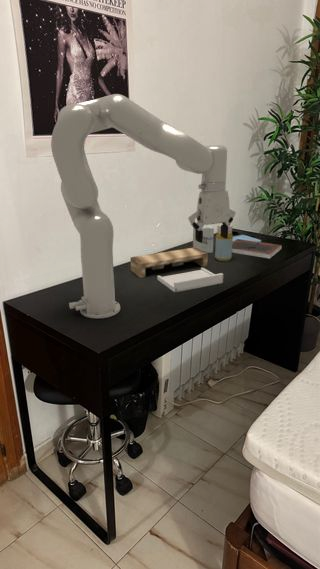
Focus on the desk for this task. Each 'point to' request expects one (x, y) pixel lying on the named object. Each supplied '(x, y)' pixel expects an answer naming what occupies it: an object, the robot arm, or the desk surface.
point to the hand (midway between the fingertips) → (211, 239)
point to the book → (255, 248)
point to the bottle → (223, 245)
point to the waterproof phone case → (245, 238)
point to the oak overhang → (167, 260)
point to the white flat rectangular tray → (191, 280)
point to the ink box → (205, 239)
